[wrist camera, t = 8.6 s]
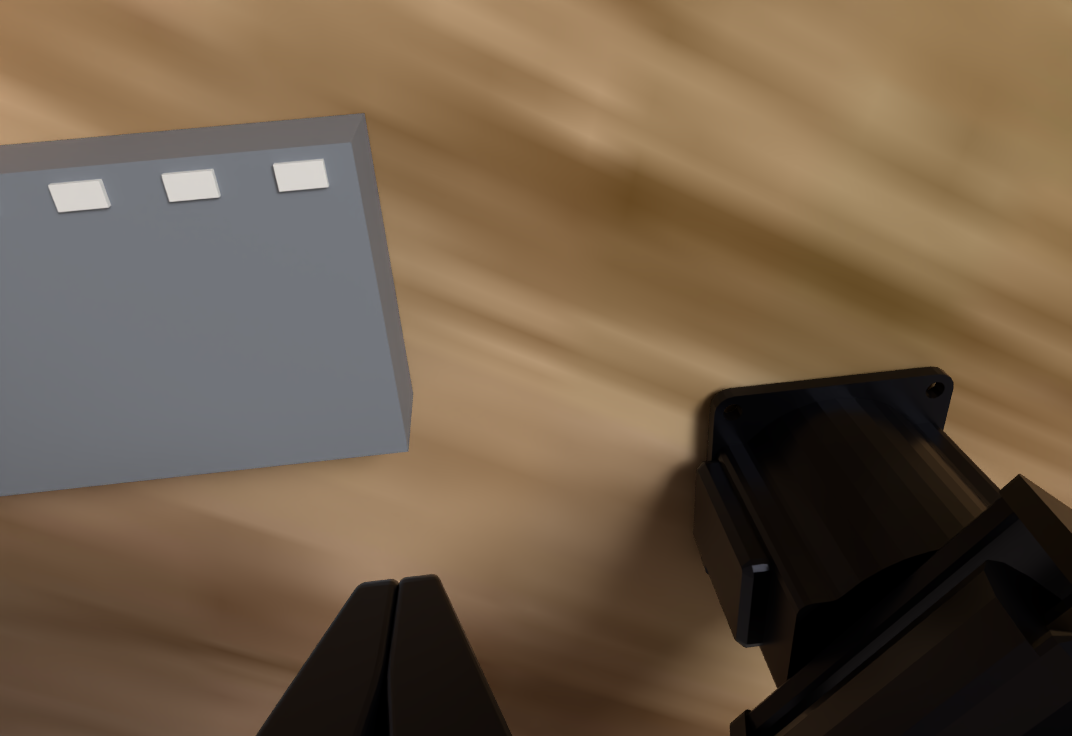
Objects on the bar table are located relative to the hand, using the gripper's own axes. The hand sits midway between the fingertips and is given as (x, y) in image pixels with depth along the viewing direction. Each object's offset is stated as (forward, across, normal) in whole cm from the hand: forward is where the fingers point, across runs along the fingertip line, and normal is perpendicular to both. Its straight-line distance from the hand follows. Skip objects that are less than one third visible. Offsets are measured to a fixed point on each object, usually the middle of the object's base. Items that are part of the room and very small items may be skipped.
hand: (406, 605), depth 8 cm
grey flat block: (+11, +8, 0) cm, 14 cm away
